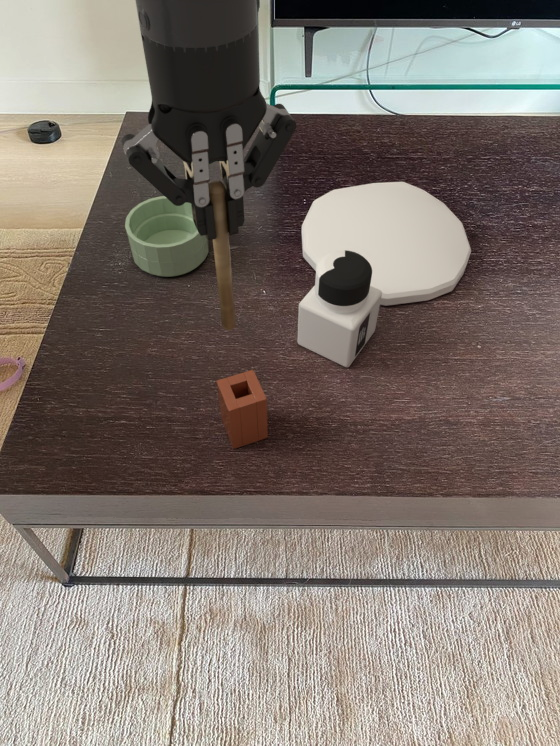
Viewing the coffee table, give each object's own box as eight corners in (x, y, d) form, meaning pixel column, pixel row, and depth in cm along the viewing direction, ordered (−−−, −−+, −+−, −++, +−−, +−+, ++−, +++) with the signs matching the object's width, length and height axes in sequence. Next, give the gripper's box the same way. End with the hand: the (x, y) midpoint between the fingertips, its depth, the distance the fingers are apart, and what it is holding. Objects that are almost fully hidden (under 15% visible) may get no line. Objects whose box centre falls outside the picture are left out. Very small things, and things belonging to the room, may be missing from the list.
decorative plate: (283, 184, 95) (435, 163, 99) (283, 206, 99) (429, 185, 102) (327, 298, 81) (503, 269, 84) (325, 320, 84) (495, 291, 87)
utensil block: (233, 449, 72) (228, 410, 65) (221, 420, 74) (216, 380, 68) (267, 437, 73) (266, 398, 66) (255, 409, 75) (253, 369, 69)
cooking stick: (224, 334, 62) (209, 188, 48) (220, 324, 63) (204, 178, 49) (238, 330, 62) (226, 184, 49) (233, 321, 63) (221, 174, 49)
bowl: (143, 287, 88) (135, 255, 83) (125, 238, 94) (117, 206, 89) (218, 267, 90) (215, 235, 85) (196, 221, 96) (192, 188, 92)
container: (375, 331, 83) (389, 257, 72) (347, 369, 79) (358, 297, 68) (325, 308, 85) (332, 234, 75) (296, 344, 81) (298, 271, 71)
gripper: (278, -24, 43) (278, 188, 56) (79, 6, 40) (131, 223, 53) (321, 22, 38) (310, 240, 52) (102, 60, 35) (151, 280, 49)
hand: (219, 230), depth 53 cm, fingers closed on cooking stick, 1 cm apart
